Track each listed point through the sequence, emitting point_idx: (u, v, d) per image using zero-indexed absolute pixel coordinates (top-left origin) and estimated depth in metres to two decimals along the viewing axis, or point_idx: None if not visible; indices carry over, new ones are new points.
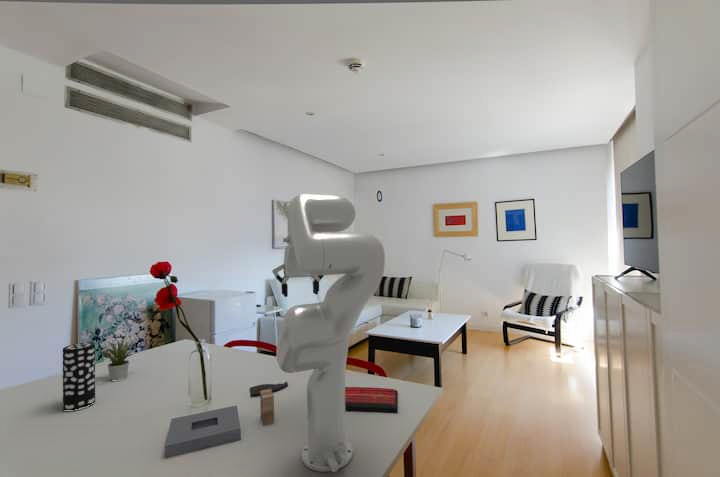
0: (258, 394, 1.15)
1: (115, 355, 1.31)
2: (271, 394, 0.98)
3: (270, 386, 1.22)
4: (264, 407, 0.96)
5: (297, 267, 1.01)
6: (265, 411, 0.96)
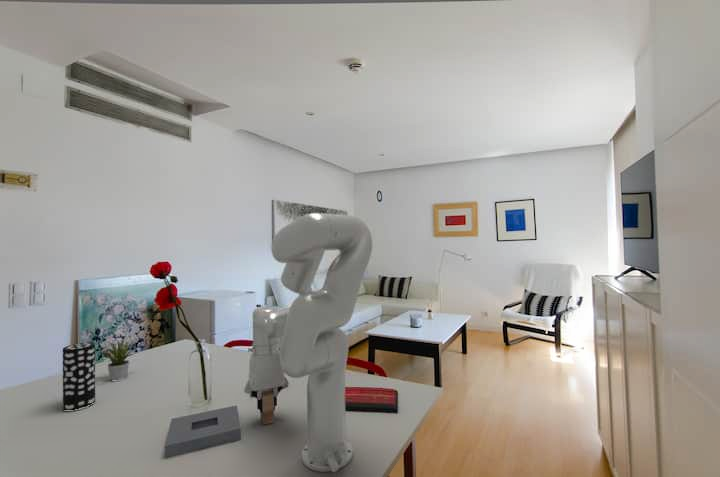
0: None
1: (115, 355, 1.31)
2: (271, 393, 0.98)
3: None
4: (264, 406, 0.96)
5: (262, 379, 0.96)
6: (265, 410, 0.96)
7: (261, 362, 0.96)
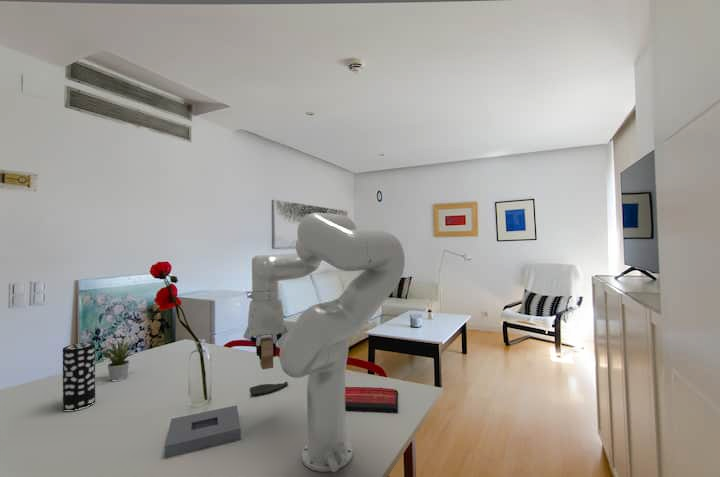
0: (258, 394, 1.15)
1: (115, 355, 1.31)
2: (270, 339, 0.99)
3: (270, 386, 1.23)
4: (263, 351, 0.97)
5: (261, 325, 0.97)
6: (264, 355, 0.97)
7: (260, 308, 0.97)
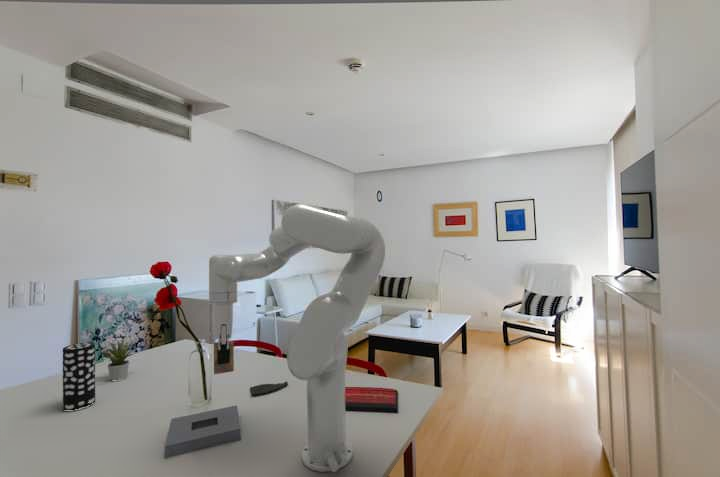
0: (259, 394, 1.15)
1: (115, 355, 1.31)
2: None
3: (270, 385, 1.23)
4: None
5: None
6: None
7: None
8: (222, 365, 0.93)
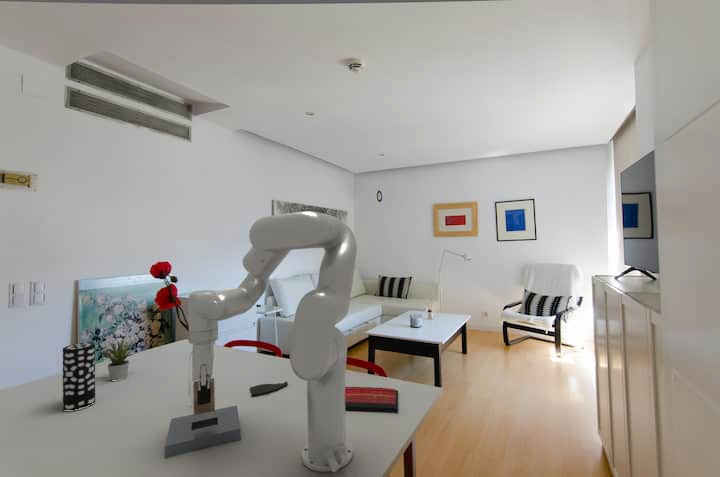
0: (259, 394, 1.15)
1: (115, 355, 1.31)
2: None
3: (270, 385, 1.23)
4: None
5: None
6: None
7: None
8: (202, 405, 0.91)
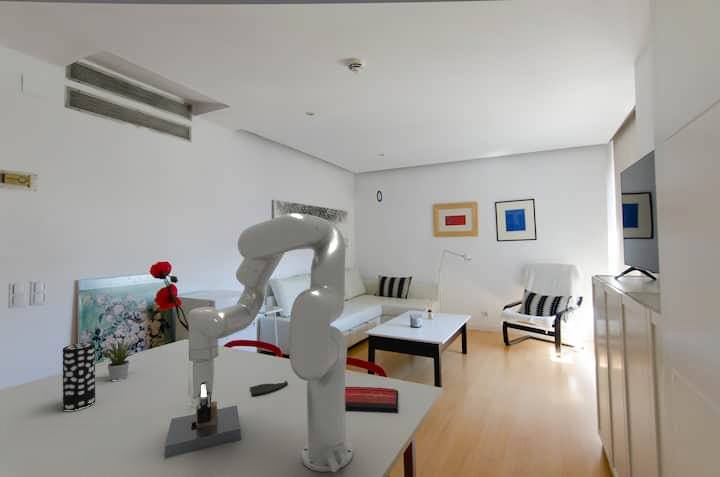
0: (259, 394, 1.15)
1: (115, 355, 1.31)
2: None
3: (270, 385, 1.23)
4: None
5: None
6: None
7: None
8: None
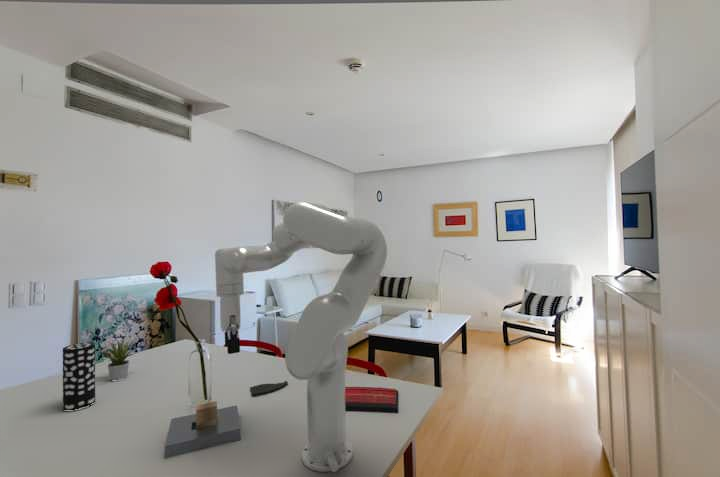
0: (259, 393, 1.15)
1: (115, 355, 1.31)
2: (200, 408, 0.91)
3: (270, 385, 1.23)
4: None
5: (220, 318, 0.97)
6: None
7: None
8: None
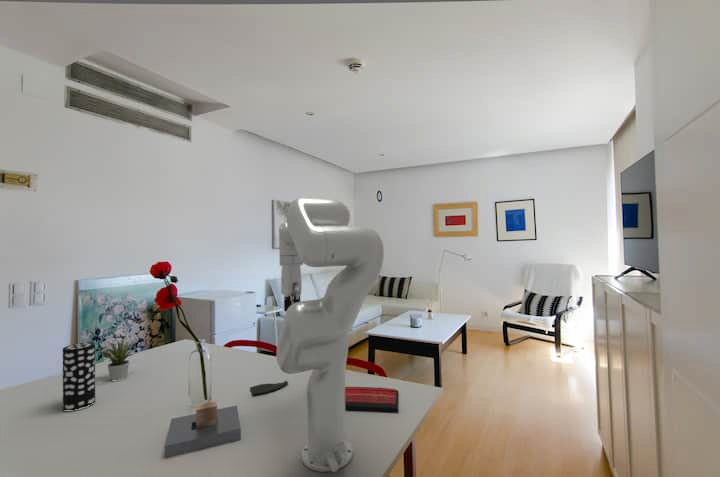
0: (260, 393, 1.16)
1: (115, 355, 1.31)
2: (200, 408, 0.91)
3: (270, 385, 1.23)
4: None
5: (282, 285, 1.08)
6: None
7: (282, 270, 1.08)
8: None
